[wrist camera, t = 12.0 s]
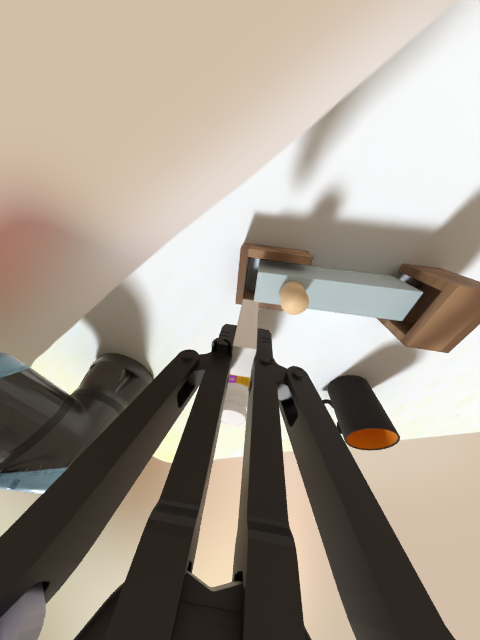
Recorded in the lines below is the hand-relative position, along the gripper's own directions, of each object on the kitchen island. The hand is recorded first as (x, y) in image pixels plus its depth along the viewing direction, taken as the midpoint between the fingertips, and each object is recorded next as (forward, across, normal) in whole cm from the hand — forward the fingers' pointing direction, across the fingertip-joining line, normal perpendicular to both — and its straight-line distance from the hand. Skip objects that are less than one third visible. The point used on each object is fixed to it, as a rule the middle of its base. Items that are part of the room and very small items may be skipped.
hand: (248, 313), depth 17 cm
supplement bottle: (+12, 0, -19) cm, 22 cm away
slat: (+12, +10, +1) cm, 16 cm away
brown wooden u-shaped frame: (+12, +2, 0) cm, 12 cm away
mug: (+12, +23, -23) cm, 35 cm away
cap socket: (+12, +22, +1) cm, 25 cm away
